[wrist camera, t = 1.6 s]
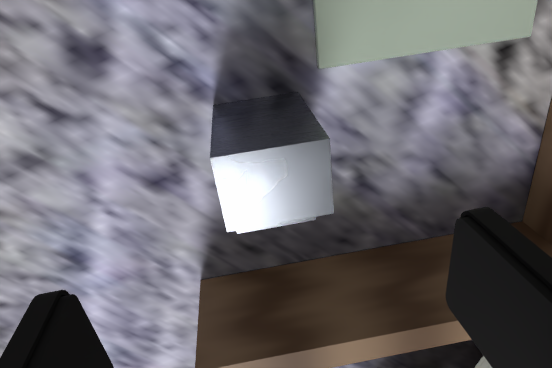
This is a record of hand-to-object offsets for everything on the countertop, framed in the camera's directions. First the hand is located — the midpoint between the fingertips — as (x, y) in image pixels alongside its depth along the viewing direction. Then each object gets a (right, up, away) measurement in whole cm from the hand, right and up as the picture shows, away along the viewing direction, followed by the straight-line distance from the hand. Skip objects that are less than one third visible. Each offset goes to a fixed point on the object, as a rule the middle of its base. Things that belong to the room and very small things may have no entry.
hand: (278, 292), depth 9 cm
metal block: (-1, +4, +10) cm, 11 cm away
